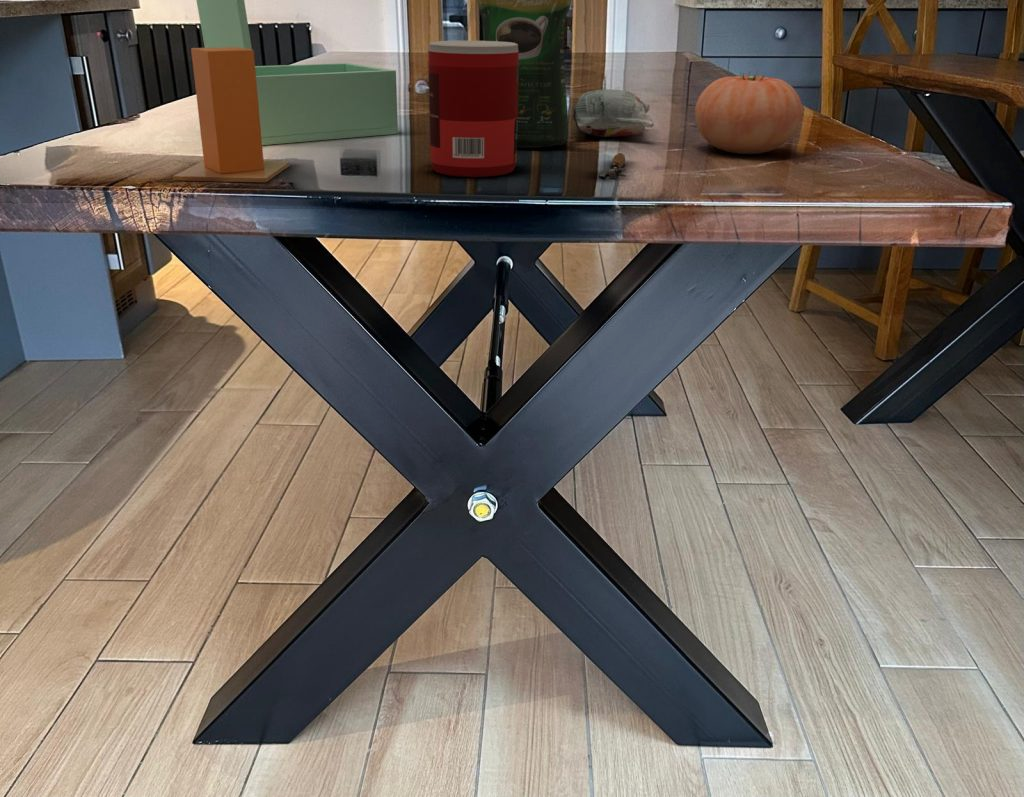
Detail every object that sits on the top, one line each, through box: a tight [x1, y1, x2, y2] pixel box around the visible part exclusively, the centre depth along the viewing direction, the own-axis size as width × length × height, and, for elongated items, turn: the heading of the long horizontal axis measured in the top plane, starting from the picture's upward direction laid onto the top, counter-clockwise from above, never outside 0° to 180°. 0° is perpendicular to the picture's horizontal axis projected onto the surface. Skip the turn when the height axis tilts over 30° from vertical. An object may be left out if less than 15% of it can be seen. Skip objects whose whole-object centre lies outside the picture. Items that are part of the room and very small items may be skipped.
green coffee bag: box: [476, 0, 572, 149], centre depth 99 cm, size 10×8×19 cm
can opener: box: [598, 152, 627, 180], centre depth 88 cm, size 9×2×1 cm, turn 163°
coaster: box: [172, 159, 290, 183], centre depth 85 cm, size 8×8×1 cm
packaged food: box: [572, 88, 654, 138], centre depth 108 cm, size 9×12×5 cm
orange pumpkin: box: [694, 71, 804, 155], centre depth 98 cm, size 11×11×8 cm
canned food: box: [427, 40, 519, 178], centre depth 86 cm, size 8×8×11 cm
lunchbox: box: [255, 62, 399, 146], centre depth 106 cm, size 17×12×7 cm
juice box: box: [190, 47, 265, 174], centre depth 83 cm, size 4×4×10 cm
